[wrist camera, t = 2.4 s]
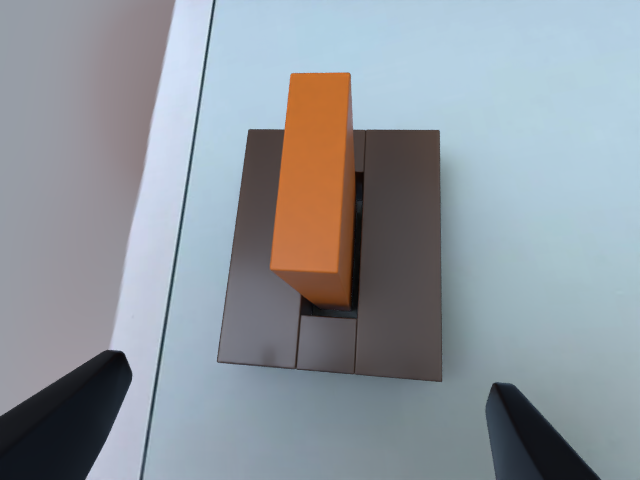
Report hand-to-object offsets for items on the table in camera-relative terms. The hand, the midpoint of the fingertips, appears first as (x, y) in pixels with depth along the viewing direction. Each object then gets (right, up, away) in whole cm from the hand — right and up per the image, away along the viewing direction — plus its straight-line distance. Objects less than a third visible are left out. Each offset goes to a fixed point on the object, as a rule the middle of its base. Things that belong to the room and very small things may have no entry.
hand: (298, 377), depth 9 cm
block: (+2, +2, +13) cm, 13 cm away
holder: (+2, +2, +13) cm, 13 cm away
